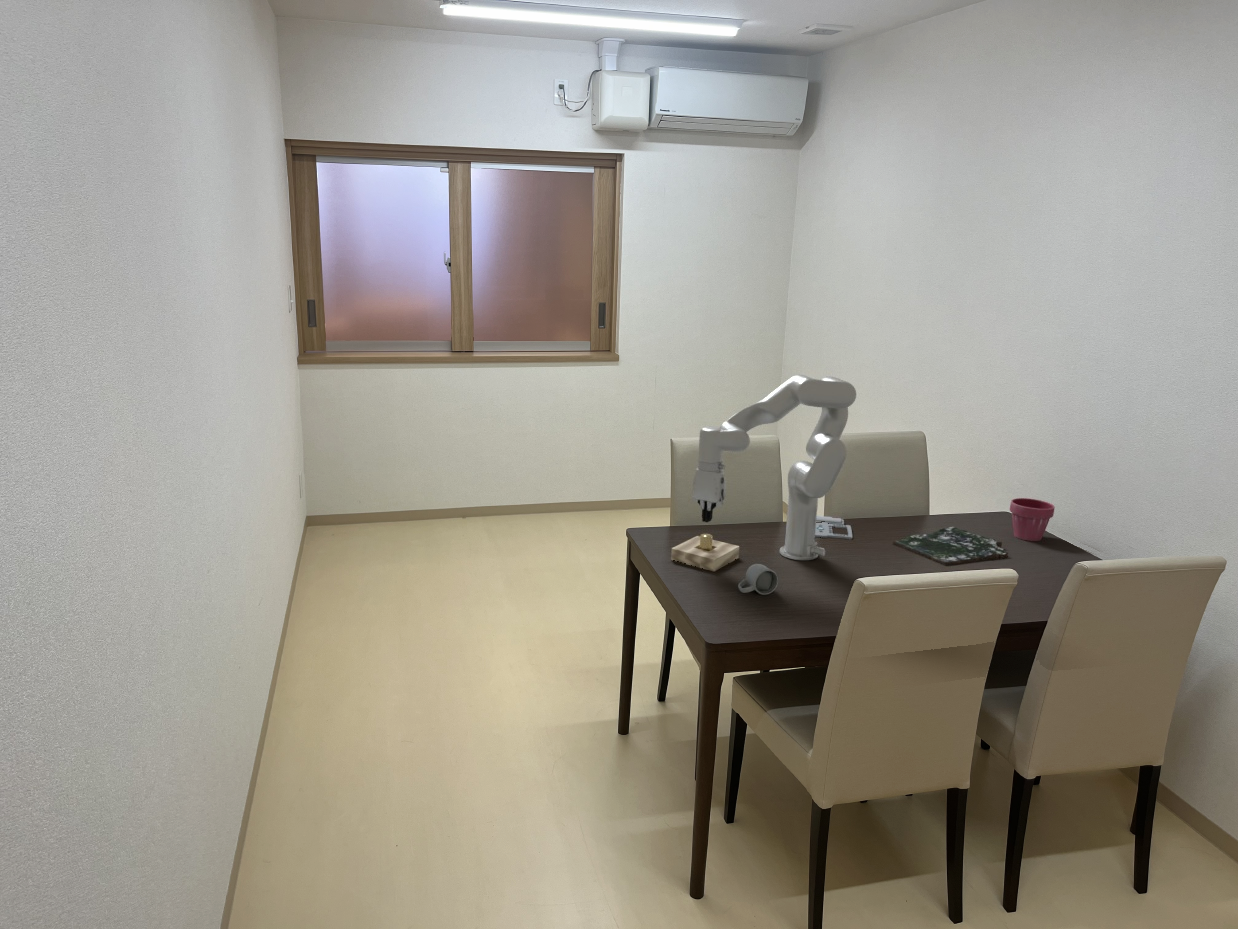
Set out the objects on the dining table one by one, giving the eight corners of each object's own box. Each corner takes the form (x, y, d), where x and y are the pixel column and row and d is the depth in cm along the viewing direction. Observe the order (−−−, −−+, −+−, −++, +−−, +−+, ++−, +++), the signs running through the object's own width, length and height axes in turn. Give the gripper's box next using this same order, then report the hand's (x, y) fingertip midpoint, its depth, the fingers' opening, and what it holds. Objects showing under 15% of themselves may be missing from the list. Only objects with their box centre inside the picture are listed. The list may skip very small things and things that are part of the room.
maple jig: (738, 557, 281) (739, 546, 280) (714, 571, 269) (714, 559, 268) (696, 547, 290) (697, 535, 289) (671, 560, 278) (671, 548, 277)
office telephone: (795, 511, 326) (849, 515, 323) (795, 518, 327) (849, 522, 323) (795, 529, 304) (853, 534, 300) (794, 536, 305) (852, 541, 301)
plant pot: (1037, 531, 316) (1042, 497, 313) (1057, 544, 303) (1062, 509, 299) (999, 530, 316) (1003, 497, 313) (1017, 543, 302) (1022, 508, 299)
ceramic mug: (765, 583, 260) (766, 559, 258) (777, 593, 253) (779, 569, 251) (733, 587, 257) (734, 563, 255) (745, 597, 250) (746, 573, 248)
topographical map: (892, 545, 298) (893, 537, 297) (957, 532, 314) (958, 525, 313) (952, 570, 276) (953, 561, 276) (1019, 555, 292) (1020, 547, 291)
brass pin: (713, 558, 280) (714, 535, 278) (707, 562, 277) (708, 538, 275) (703, 555, 282) (704, 532, 280) (696, 559, 279) (698, 535, 277)
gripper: (736, 467, 270) (732, 523, 275) (695, 460, 279) (692, 513, 283) (724, 472, 264) (721, 528, 269) (683, 464, 273) (680, 519, 277)
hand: (706, 521), depth 276 cm, fingers closed
